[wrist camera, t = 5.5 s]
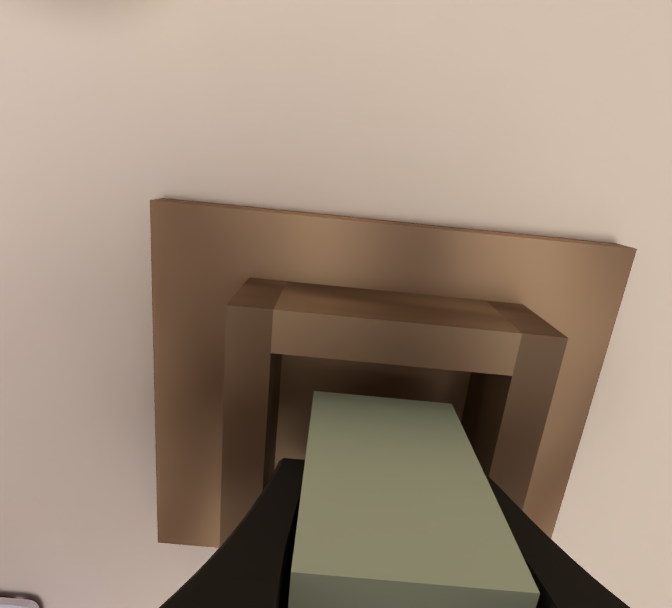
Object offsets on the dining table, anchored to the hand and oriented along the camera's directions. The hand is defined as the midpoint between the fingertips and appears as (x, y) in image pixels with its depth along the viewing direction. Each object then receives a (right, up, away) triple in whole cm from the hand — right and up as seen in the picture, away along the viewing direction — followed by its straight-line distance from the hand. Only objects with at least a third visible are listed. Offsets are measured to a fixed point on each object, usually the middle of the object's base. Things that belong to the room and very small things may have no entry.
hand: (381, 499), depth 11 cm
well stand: (0, +2, +5) cm, 5 cm away
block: (0, 0, +2) cm, 2 cm away
